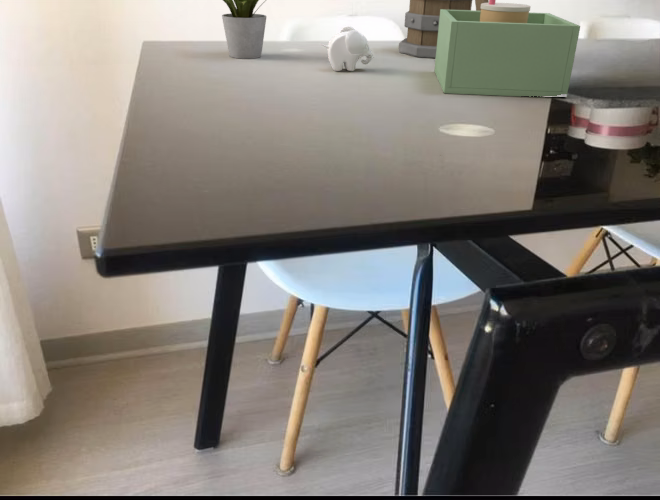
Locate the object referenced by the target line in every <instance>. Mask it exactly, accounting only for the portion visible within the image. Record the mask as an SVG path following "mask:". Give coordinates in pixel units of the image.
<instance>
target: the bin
mask: <svg viewBox="0 0 660 500" xmlns="http://www.w3.org/2000/svg"><path fill="white" fill-rule="evenodd" d="M480 14H481V11H476V10H473V9H471V10H445V9H440V18H439V29H438V39H437V49H436V58H434V59H435V60H434V61H435V62H434V74H435V76H436V78H437V81H438V82H439V83H438V84H439V86H440V88H441V90H442V92H443V94H451V95H453V94H454V95H473V96H474V95H477V96H479V95H480V96H496V97H497V96H499V97H500V96H501V97H502V96H503V97H521V96H529V97H528V98H535V97H534V96H537V97H536V98H542V97H541V96H557V95H561V94H567V95H568V92H569V88H570V82H571V77H572V72H573V67H574V61H575V57H576V51H577V46H578V40H579V36H580V31H581V25H580V24H577V23H575V22H571V21H569V20H567V19H564V18H562V17H561V16H557V15H555V14H552V13H550V12H530V11H529V15H528V21H527V23H503V22H480ZM531 96H533V97H531ZM538 96H540V97H538Z"/></svg>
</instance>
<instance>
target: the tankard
mask: <svg viewBox="0 0 660 500" xmlns="http://www.w3.org/2000/svg"><path fill="white" fill-rule="evenodd" d="M474 3H475V11H481V4H482V3H489V0H474ZM472 5H473V0H409V7H408V8H409V9H408V11H406V12H405V15H404V28H407V32H406V33H407V35H406V37H405V38H403V39H402V40H401V41H400V42H399V43H398V52H399V53H400V54H404V55H408V56H411V57H416V58H426V59H436V49H437V39H438V29H439V18H440V9H445V10H472V7H473V6H472Z"/></svg>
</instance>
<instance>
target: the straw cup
mask: <svg viewBox="0 0 660 500" xmlns="http://www.w3.org/2000/svg"><path fill="white" fill-rule="evenodd" d="M496 1H497V0H489V3H482V4H481V14H480V22H503V23H527V21H528V15H529V12H530V11H531V5H528V4H523V3H515V2H513V3H511V2H496Z"/></svg>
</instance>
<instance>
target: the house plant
mask: <svg viewBox="0 0 660 500" xmlns="http://www.w3.org/2000/svg"><path fill="white" fill-rule="evenodd" d="M222 1H223V2H224V3H225V4H226V6H227V8H228V9H229V11H230V13H224V14H221V19H222V24H223V29H224V34H225V39H226V45H227V49H228V50H227V51H228V54H229V55H228V56H229V57H230V58H234V59H257V58H261V57H262V53H263V46H264V39H265V31H266V24H267V15H265V14H262V13H261V14H260V13H257V11H258V9H260V7H257V8H256V6H257V4H258V2H259V1H260V0H222ZM266 1H267V0H264V1H263V2H262V3H261V4H260V6H262V5H263V4H264V3H266ZM255 8H256V10H255ZM254 10H255V11H254Z"/></svg>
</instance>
